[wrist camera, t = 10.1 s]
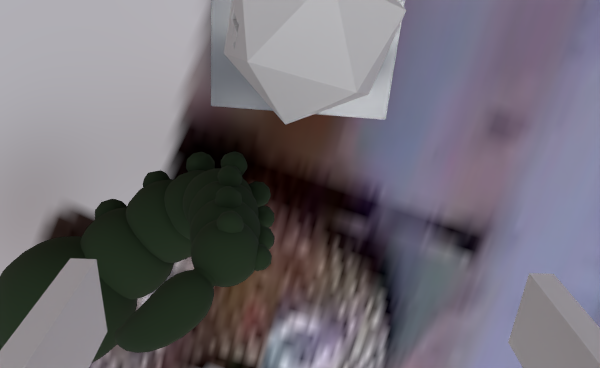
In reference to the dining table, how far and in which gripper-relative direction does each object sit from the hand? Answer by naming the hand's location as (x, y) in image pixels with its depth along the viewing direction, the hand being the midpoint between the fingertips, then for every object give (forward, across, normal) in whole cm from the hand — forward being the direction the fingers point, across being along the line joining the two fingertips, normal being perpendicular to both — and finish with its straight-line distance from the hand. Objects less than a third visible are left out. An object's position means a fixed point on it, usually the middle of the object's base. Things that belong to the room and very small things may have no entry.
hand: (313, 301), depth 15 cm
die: (+17, 0, -6) cm, 18 cm away
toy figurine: (+24, +12, +11) cm, 29 cm away
